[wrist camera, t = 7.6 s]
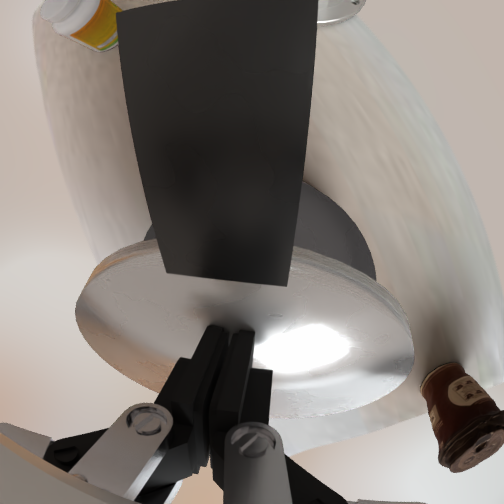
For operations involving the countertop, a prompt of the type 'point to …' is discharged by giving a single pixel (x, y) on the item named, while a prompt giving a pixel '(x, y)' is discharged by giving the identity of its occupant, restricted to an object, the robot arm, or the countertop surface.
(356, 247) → the cooker pot
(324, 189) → the countertop surface
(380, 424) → the countertop surface
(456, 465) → the coffee cup
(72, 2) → the supplement bottle
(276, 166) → the cooker lid
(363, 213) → the countertop surface
